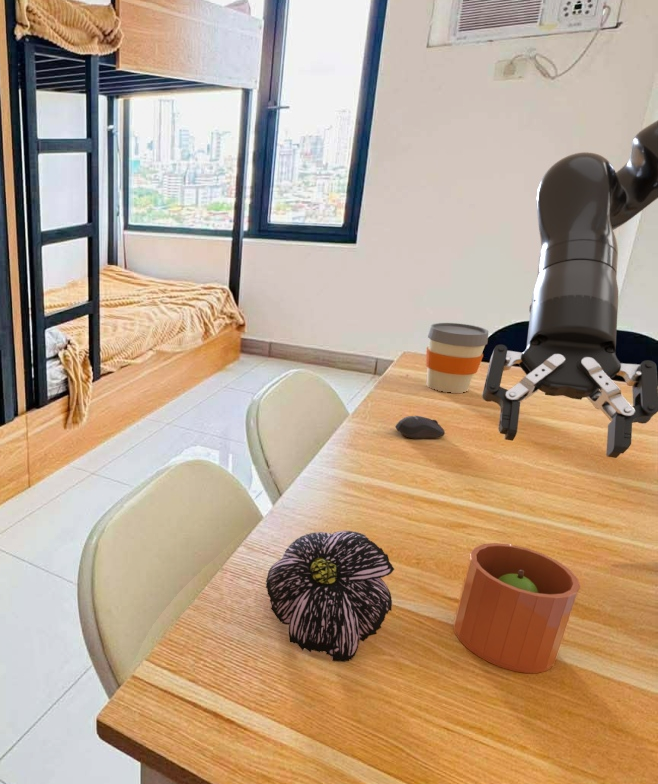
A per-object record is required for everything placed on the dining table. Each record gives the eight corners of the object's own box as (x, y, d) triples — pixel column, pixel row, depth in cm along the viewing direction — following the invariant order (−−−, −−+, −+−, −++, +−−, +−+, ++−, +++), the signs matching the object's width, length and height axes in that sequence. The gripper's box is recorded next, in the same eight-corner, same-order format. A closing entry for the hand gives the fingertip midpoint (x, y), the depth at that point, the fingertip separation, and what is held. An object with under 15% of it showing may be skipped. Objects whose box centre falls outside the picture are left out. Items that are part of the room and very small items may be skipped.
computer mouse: (448, 439, 126) (452, 421, 125) (404, 440, 126) (407, 422, 125) (431, 428, 132) (435, 410, 130) (389, 429, 131) (392, 412, 130)
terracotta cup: (564, 641, 73) (588, 569, 69) (543, 688, 66) (568, 610, 63) (468, 601, 80) (485, 533, 76) (440, 639, 73) (458, 567, 70)
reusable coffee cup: (410, 386, 156) (421, 328, 151) (429, 376, 164) (440, 320, 159) (466, 399, 148) (480, 338, 143) (483, 387, 156) (496, 328, 151)
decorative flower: (238, 546, 74) (335, 490, 78) (235, 597, 82) (323, 543, 86) (330, 648, 64) (436, 577, 68) (317, 695, 72) (413, 629, 76)
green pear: (539, 636, 73) (559, 570, 70) (526, 661, 69) (546, 593, 66) (483, 612, 77) (500, 549, 74) (467, 634, 73) (484, 569, 70)
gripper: (502, 286, 69) (485, 417, 63) (672, 298, 62) (669, 445, 57) (489, 323, 75) (472, 446, 70) (642, 338, 68) (637, 474, 63)
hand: (561, 445), depth 63 cm, fingers open, 8 cm apart
